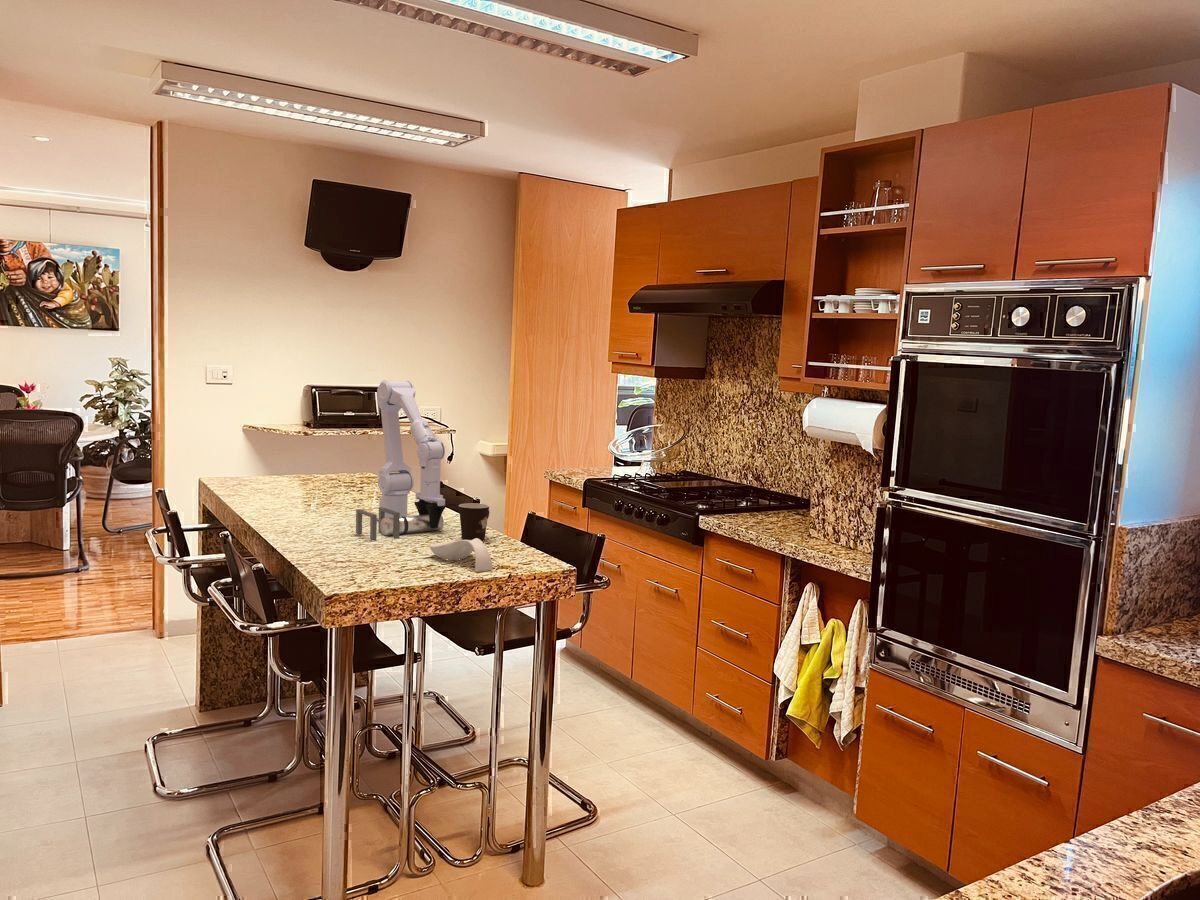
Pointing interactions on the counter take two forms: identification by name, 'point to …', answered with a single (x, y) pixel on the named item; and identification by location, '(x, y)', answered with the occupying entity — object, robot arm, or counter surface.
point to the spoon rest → (464, 552)
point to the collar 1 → (372, 523)
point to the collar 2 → (395, 520)
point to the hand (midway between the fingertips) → (429, 526)
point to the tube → (409, 524)
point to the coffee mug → (473, 520)
